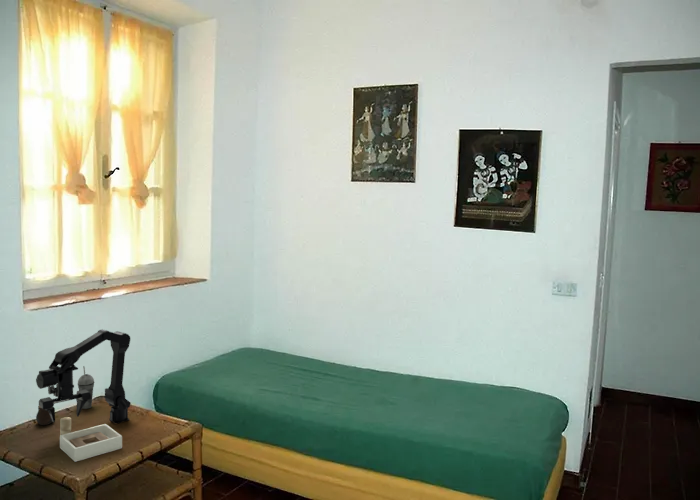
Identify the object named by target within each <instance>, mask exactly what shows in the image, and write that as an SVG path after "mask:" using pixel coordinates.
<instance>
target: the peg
mask: <svg viewBox="0 0 700 500" xmlns="http://www.w3.org/2000/svg"><path fill="white" fill-rule="evenodd" d="M59 423H60V424H59V425H60V426H59V427H60V428H59V429H60V430H59V431H60V432H59V433H60V435H64V434H68V433H72V418H71V417H68V416H66V417H61V418H60V419H59ZM60 435H59V436H60Z"/></svg>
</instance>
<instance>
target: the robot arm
mask: <svg viewBox="0 0 700 500" xmlns="http://www.w3.org/2000/svg"><path fill="white" fill-rule="evenodd" d="M105 341H109V343H110V347H111V350H112V365H111V373H110V374H111V376H110V385H109V386H108V388H107V387H106V388H104V395H103V398H104V399H105V402H106V403H108V406H109V407H110V411H109V421H111V422H112V423H113V424H120V423H123V422H128V421H130V418H129V412H128V411H129V408H130V407H131V404H132V402H130V401H129V400H128V399H126V391H125V389H124V385H123V380H124V372H125V370H124V369H125V358H126V352H127V351H128V349H129V347H130V343H131V336H130V335H129V334H128V333H125V332H122V331H118V330H117V331H114V332H113V331H109V330H107V329H103V328H102V329H99V330H97V332H95V333H94V334H93V335H90V336H88V337H87V338H86V339H84V340H82V341H81V342H79V343H77V344H76V345H74V346H72V347H67V348H64V349H62V350H60V351H57V353H55V356H54V359H53V360H52V362H51V364H50V365H49V367H48V369H45V370H39V371H38V374H37V375H36V378H35V383H36V386H37V387H38V389H46V388H47V392H48V395H53V397H54V396H55V397H56V398H51V397H50V396H47V397H42V398H39V400H38V406H40V407H41V408H42V409H45V410H47V411H48V412H49V414H50V416H51V418H52V421H53V422H52V423H55V422H56V408H55V407H54V406H55V404H58V403H59V404H60V403H64V402H69V401H72V400H76V411H75V412H76V417H79V416H80V414H81V412H82V408H83V406H84V404H85V403H86V402H88V399H91V393H90V392H89V391H87V390H86V389H85V390H80V391H79V390H77V391H76V394H75V393H74V388H75V384H74V376H73V375H74V372H73V371H77V370H79V367H77V366H76V365H75V364H76V363H77V362H78V361H79V360H80V358H81V357H82V356H83V355H84V354H86V353H87V352H89V351H90V350H92V349H94V348H96V347H97V346H98V345H100V344H101V343H103V342H105Z"/></svg>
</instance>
